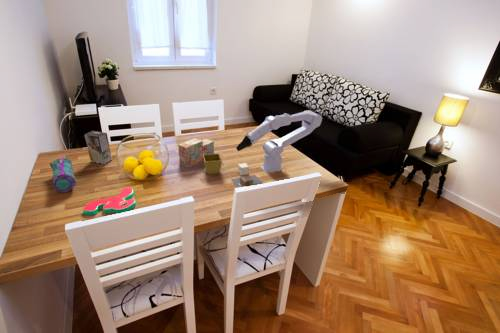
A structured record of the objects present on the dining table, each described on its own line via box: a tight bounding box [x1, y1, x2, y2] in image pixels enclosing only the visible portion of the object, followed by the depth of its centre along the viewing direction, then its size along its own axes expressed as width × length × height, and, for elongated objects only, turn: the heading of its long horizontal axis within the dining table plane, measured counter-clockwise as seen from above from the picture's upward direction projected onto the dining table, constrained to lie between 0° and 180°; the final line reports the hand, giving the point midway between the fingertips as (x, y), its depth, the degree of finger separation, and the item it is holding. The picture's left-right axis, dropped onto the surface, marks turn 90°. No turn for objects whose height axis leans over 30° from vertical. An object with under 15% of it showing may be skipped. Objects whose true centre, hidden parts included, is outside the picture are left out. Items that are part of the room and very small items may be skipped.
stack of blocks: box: [177, 137, 215, 168], centre depth 158 cm, size 21×6×12 cm, turn 143°
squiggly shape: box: [82, 186, 137, 216], centre depth 119 cm, size 20×16×2 cm
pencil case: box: [49, 157, 77, 193], centre depth 129 cm, size 21×9×10 cm, turn 34°
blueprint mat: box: [230, 174, 264, 187], centre depth 140 cm, size 14×14×1 cm
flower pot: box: [203, 152, 223, 175], centre depth 147 cm, size 9×9×9 cm
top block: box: [237, 162, 250, 176], centre depth 149 cm, size 4×4×5 cm
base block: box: [239, 174, 254, 187], centre depth 138 cm, size 5×5×4 cm
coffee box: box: [84, 130, 113, 165], centre depth 148 cm, size 9×6×16 cm
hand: (237, 149), depth 140 cm, fingers open, 7 cm apart
